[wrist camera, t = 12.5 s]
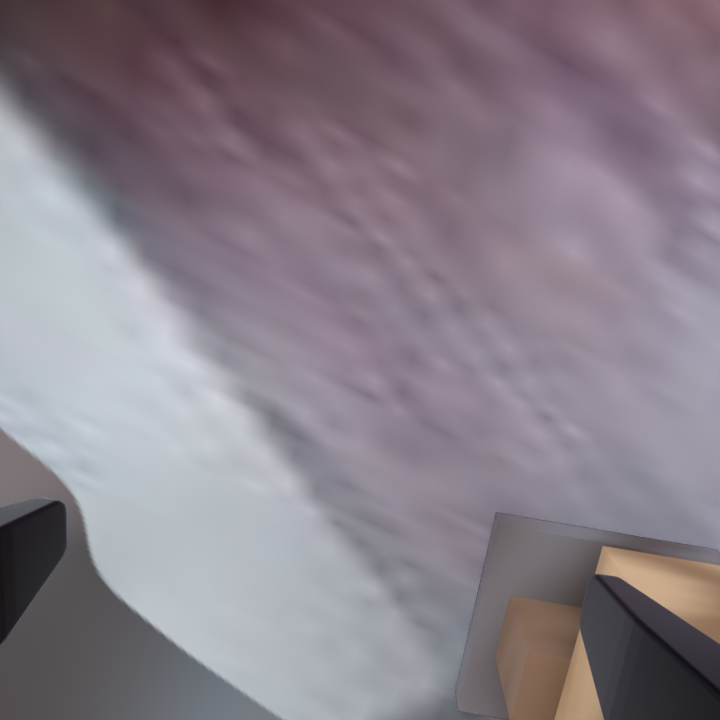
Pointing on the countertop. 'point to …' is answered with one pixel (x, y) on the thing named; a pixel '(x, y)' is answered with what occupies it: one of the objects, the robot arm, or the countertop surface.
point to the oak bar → (665, 586)
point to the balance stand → (536, 612)
